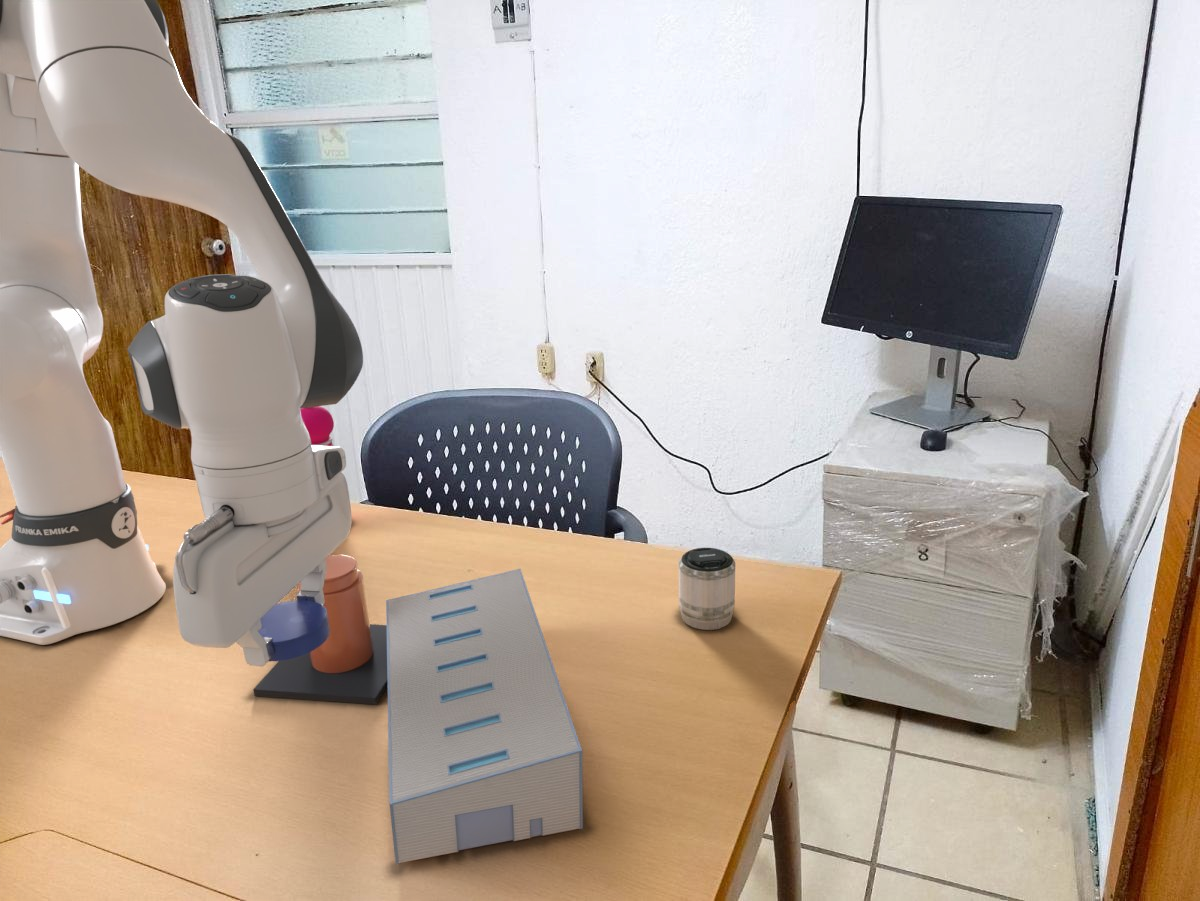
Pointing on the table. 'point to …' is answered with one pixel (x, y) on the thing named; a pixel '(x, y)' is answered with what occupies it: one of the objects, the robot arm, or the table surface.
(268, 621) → the jam lid
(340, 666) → the jam jar
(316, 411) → the pepper mill
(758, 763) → the table surface
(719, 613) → the camera lens
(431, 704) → the warehouse
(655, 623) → the table surface
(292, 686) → the mat
